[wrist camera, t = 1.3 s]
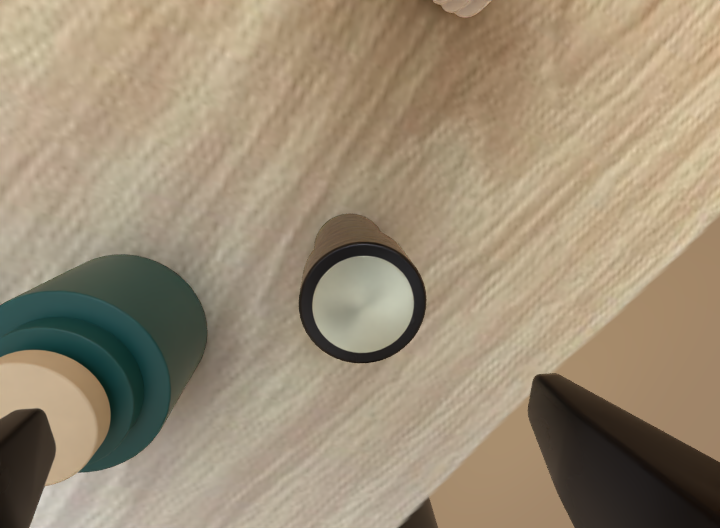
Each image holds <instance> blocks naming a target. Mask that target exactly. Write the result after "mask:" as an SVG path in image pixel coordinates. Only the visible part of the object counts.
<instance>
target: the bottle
mask: <svg viewBox="0 0 720 528" xmlns="http://www.w3.org/2000/svg"><path fill="white" fill-rule="evenodd" d="M206 340H207V326H206V319H205V315H204V311H203V309H202V306H201V304H200V302H199V300H198V298H197V296H196V294H195V293H194V292H193V290H192V289H191V287H190V286H189V285H188V284H187V283H186V282H185V281H184V280H183V279H182V278H181V277H180V276H179V275H177V274H176V273H175V272H173V271H172V270H170V269H169V268H167V267H166V266H164V265H162V264H160V263H158V262H156V261H153V260H150V259H147V258H143V257H139V256H133V255H109V256H103V257H99V258H96V259H93V260H90V261H88V262H86V263H84V264H82V265H79V266H77V267H75V268H73V269H71V270H69V271H67V272H65V273H63V274H61V275H59V276H57V277H55V278H53V279H51V280H49V281H47V282H45V283H43V284H41V285H39V286H37V287H35V288H33V289H31V290H29V291H27V292H25V293H23V294H21V295H19V296H17V297H15V298H13V299H11V300H9V301H7V302H5V303H3V304H2V305H0V419H1V418H3V417H4V416H6V415H8V414H9V413H11V412H13V411H15V410H19V409H33V408H39V409H42V410H43V411H44V412H45V413H46V415H47V418H48V421H49V424H50V427H51V431H52V434H53V437H54V440H55V443H56V454H55V458H54V461H53V464H52V467H51V470H50V472H49V475H48V478H47V480H46V483H45V486H48V485H52V484H56V483H59V482H61V481H64V480H66V479H68V478H70V477H71V476H73V475H75V474H76V473H80V472H92V471H98V470H103V469H107V468H110V467H113V466H116V465H118V464H121V463H123V462H125V461H127V460H129V459H130V458H132V457H134V456H136V455H137V454H138V453H140V452H141V451H142V450H144V449H145V448H146V447H147V446H148V445H149V444H150V443H151V442H152V441H153V440H154V438H155V437H156V436H157V434H158V433H159V432H160V430H161V428H162V426H163V425H164V423H165V421H166V419H167V418H168V416H169V414H170V412H171V411H172V409H173V407H174V405H175V404H176V402H177V400H178V399H179V397H180V395H181V393H182V392H183V390H184V388H185V386H186V385H187V383H188V381H189V379H190V378H191V376H192V374H193V372H194V371H195V369H196V367H197V365H198V364H199V362H200V360H201V358H202V355H203V353H204V350H205V345H206Z"/></svg>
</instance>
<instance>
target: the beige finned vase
mask: <svg viewBox="0 0 720 528" xmlns="http://www.w3.org/2000/svg"><path fill="white" fill-rule="evenodd" d="M491 1H492V0H433V2H434V3H436V4H438V5H441V6H442V8H443V9H444V10H445V11H446V12H449V13H455V14H456V15H457V16H459V17H463V18H467V17H471V16H474V15H476V14H477V13H479V12H480V11H481V10H482V9H483V8H484V7H485V6H487V5H488V4H489V3H490V2H491Z"/></svg>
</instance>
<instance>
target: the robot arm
mask: <svg viewBox="0 0 720 528" xmlns="http://www.w3.org/2000/svg"><path fill="white" fill-rule="evenodd" d="M528 417H529V421H530V423H531V426H532V429H533V431H534V434H535V436H536V439H537V442H538V444H539V447H540V449H541V452H542V455H543V457H544V460H545V462H546V465H547V468H548V470H549V473H550V475H551V478H552V480H553V483H554V485H555V488H556V490H557V493H558V495H559V497H560V499H561V501H562V503H563V505H564V507H565V509H566V511H567V513H568V515H569V517H570V519H571V521H572V523H573V525H574V527H575V528H720V462H718V461H716V460H714V459H712V458H711V457H709V456H707V455H705V454H703V453H701V452H700V451H698V450H696V449H694V448H692V447H691V446H689V445H687V444H685V443H683V442H681V441H679V440H678V439H676V438H674V437H672V436H671V435H669V434H667V433H665V432H663V431H661V430H660V429H658V428H656V427H654V426H652V425H650V424H648V423H647V422H645V421H643V420H641V419H639V418H638V417H636V416H634V415H632V414H630V413H628V412H627V411H625V410H623V409H621V408H619V407H617V406H616V405H614V404H612V403H610V402H608V401H606V400H605V399H603V398H601V397H599V396H597V395H595V394H594V393H592V392H590V391H588V390H586V389H584V388H583V387H581V386H579V385H577V384H575V383H573V382H572V381H570V380H568V379H566V378H564V377H563V376H561V375H559V374H556V373H550V374H538V375H536V376H535V377H534V379H533V382H532V388H531V393H530V399H529V405H528ZM55 454H56V443H55V440H54V437H53V434H52V431H51V427H50V424H49V421H48V418H47V415H46V413H45V412H44V411H43V410H42V409H39V408H33V409H19V410H15V411H13V412H11V413H9V414H8V415H6V416H4V417H3V418H1V419H0V528H29V527H30V524H31V521H32V519H33V516H34V513H35V511H36V508H37V505H38V502H39V500H40V497H41V494H42V491H43V489H44V486H45V483H46V480H47V478H48V475H49V472H50V470H51V467H52V464H53V461H54V458H55Z"/></svg>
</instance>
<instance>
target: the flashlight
mask: <svg viewBox="0 0 720 528" xmlns="http://www.w3.org/2000/svg"><path fill="white" fill-rule="evenodd" d="M425 310H426V291H425V287H424V283H423V280H422V278H421V275H420V274H419V272H418V270H417V268H416V267H415V266H414V264H413V263H412V262H411V260H410V259H409V258H408V256H407V255H406V254H405V252H404V251H403V250H402V248H401V247H400V246H399V245H398V244H397V243H396V242H395V241H394V240H393V239H391V238H390V237H388V236H387V235H385V234H383V233H381V231H380V230H379V228H378V227H377V226H376V225H375V224H374V223H373V222H372V221H371V220H369V219H367V218H366V217H363V216H361V215H357V214H343V215H339V216H336V217H334V218H332V219H330V220H329V221H328V222H326V223H325V224H324V225H323V226H322V228H321V229H320V231H319V232H318V234H317V237H316V240H315V246H314V250H313V251H312V253H311V254H310V256H309V258H308V259H307V262H306V264H305V267H304V271H303V276H302V282H301V288H300V295H299V313H300V318H301V321H302V324H303V327H304V329H305V331H306V333H307V334H308V336H309V337H310V339H311V340H312V341H313V342H314V343H315V344H316V345H317V346H318V347H319V348H320V349H321V350H322V351H324V352H325V353H327V354H328V355H330V356H332V357H334V358H337V359H340V360H342V361H346V362H351V363H370V362H376V361H380V360H383V359H386V358H388V357H390V356H392V355H394V354H396V353H397V352H399V351H400V350H401V349H403V348H404V347H405V346H406V345H407V344H408V343H409V342H410V341H411V340H412V339H413V338H414V336H415V335H416V333H417V332H418V330H419V328H420V326H421V324H422V322H423V318H424V315H425Z"/></svg>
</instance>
